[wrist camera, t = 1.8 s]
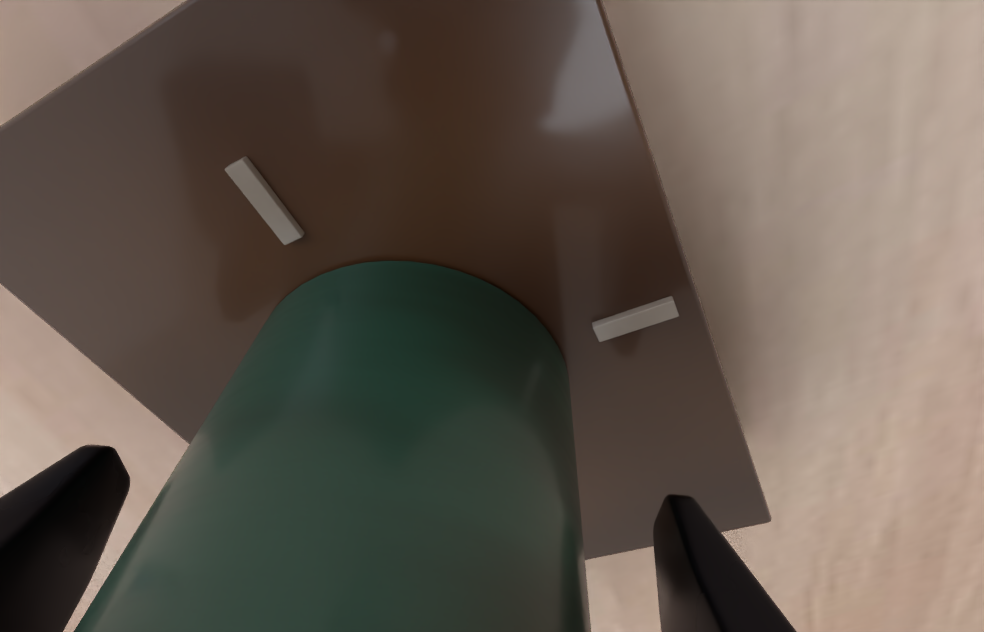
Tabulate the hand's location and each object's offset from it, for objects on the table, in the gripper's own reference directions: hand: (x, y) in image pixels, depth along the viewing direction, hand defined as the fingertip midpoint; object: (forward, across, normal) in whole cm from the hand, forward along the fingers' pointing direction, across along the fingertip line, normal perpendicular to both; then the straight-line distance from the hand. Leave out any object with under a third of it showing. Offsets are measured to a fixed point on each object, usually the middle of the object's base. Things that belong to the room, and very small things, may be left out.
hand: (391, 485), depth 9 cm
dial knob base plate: (+5, 0, 0) cm, 5 cm away
